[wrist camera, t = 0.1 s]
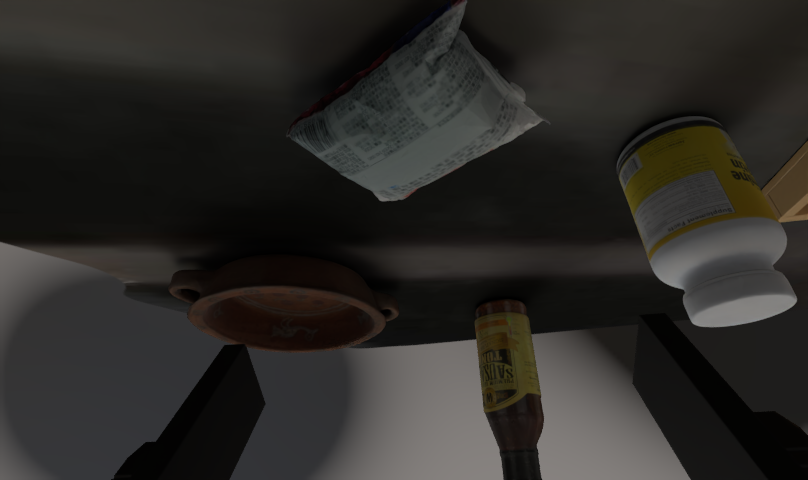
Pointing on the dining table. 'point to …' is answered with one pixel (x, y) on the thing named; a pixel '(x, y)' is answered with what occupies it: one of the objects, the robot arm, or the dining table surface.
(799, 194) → the tray
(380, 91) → the packaged food
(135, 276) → the dining table surface
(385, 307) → the dish
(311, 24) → the dining table surface
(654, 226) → the pill bottle
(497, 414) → the sauce bottle
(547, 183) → the dining table surface
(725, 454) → the robot arm
